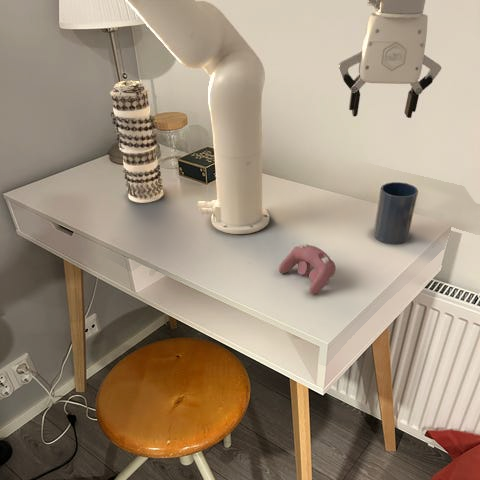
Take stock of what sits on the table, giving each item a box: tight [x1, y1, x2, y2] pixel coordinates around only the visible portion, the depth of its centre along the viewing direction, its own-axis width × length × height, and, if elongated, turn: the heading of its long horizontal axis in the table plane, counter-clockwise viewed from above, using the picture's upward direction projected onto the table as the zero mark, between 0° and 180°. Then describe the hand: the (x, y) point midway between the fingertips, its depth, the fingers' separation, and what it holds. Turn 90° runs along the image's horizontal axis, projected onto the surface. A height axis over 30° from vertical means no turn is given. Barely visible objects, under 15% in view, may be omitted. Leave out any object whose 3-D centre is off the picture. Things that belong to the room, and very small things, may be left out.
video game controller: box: [278, 243, 337, 296], centre depth 86 cm, size 10×5×7 cm, turn 35°
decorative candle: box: [109, 80, 164, 204], centre depth 109 cm, size 9×9×25 cm
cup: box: [373, 181, 419, 245], centre depth 95 cm, size 7×7×10 cm
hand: (380, 115), depth 89 cm, fingers open, 9 cm apart
